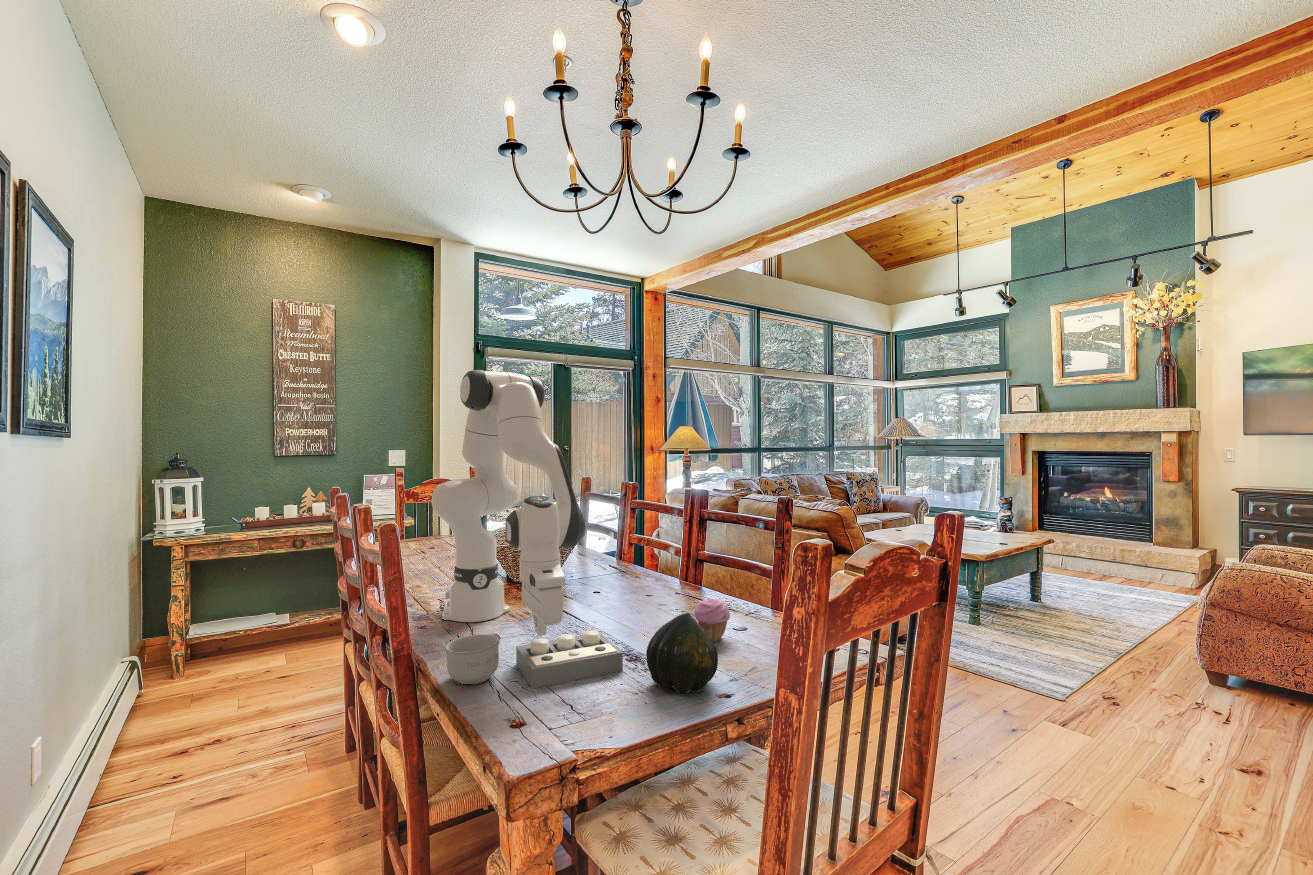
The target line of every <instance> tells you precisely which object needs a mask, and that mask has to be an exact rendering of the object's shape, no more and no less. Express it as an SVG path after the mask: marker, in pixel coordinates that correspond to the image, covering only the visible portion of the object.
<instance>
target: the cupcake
mask: <svg viewBox="0 0 1313 875" xmlns="http://www.w3.org/2000/svg"><path fill="white" fill-rule="evenodd" d="M729 609H730V608H728V605H727V604H726V603H725V602H724V601H723V600H721V599H717V598H710V599H703V600H701V601H700V603H698V604H696V606H695V609H694V613H693V615H694V619H695V620H696V621H697V623H698V624H699V625H700V626H701V628H702V629H703V630H704V631H705V632H706V633H707V635H708V636H709V637H710V638H711V640H712V641H713V643H717V642H718V641H719V640H720V639H722V637H723V635H724V634H725V632H726V630H727V624H728V622H729V620H730V617H731V613H730V610H729Z"/></svg>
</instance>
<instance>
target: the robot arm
mask: <svg viewBox="0 0 1313 875" xmlns="http://www.w3.org/2000/svg"><path fill="white" fill-rule="evenodd" d="M459 387H460V388H459V395H460V400H461V403H462V404H463V406H465V408H467V409H468V414H467V417H466V423H465V429H464V435H463V441H462V442H463V443H462V450H461V452H462V456H463V459H464V461H466V462H467V463H468V464H470V465H471V466H473V467H474V477H471V478H468V477H467V478H457V479H453V480H448V481H445V482H442V483H439V484H438V485H436V486H435V488H434V489H433V492H432V494H431V507H432V509H433V511H434V513H435V514H436V515H437V517H439V518H441V519H442V520H443V521H444V522H445V523H446V524H447V525H448V526H449V528H450V530H451V532H452V535H453V538H454V546H455V547H454V548H455V566H454V570H453V579H454V580H453V581H454V582H453V583H452V585H451V586H450V588H449V590H445V600H446V602H445V603H444V607H443V610H442V614H441V618H442V619H444V620H443V621H453V622H454V621H455V622H459V623H460V622H461V623H475V622H484V621H488V620H493V619H495V618H498V617H500V616H502V615H503V614H504V613H508V612H510V611H511V606H510V605H508V604H506V603H505V588H504V582H502V581H501V580H500V579H499V578H498V577H499V563H497V538H496V536H495V534H494V533H492V532H491V531H490V530H488V529H486V528H485V527H484V526H483V524H482V520H481V518H482V516H485V517H486V516H491V515H498V514H500V513H503V512H505V511H508V510H511V509H512V508H513V507H514V506H515V505H516V502H517V499H518V490H517V489H518V488H517V487H516V484H515V483H514V482H513V480H511V479H510V477H509V476H508V474H507V473H506V469H505V465H504V453H505V454H506V455H507V456H508V457H510V458H511V459H512V460H515V461H518V462H520V463H524V464H527V465H530V466H533V467H534V468H537V469H539V470H541V471H542V472H543V473H545V474H546V475H547V477H548V479H549V482H550V485H551V488H552V490H553V494H554V495H553V496H554V498H555V499H554V498H553V497H550V496H544V495H534V496H533V495H532V496H529V497H525V498H524V499H523V500H522V501H521V506H520V507H519V508H518V509H513V510H512V511H511V513H509V515H507V517H506V518H505V543H507V544H508V545H509V546H511V547H512V548H513V549H515V550H520V554H519V555H520V556H519V581H520V582H521V600H522V603H523V604H524V605H525V606H526V607H527V608H528V609H529V611H530V612H532V618H533V624H534V632H535V633H536V634H537V635H538V636H539V637H542V636H543V637H544V636H546V635H547V628H548V627H547V626H555V625H560V623H561V622H562V619H563V615H564V614H563V613H564V611H563V609H564V590H563V587H564V586H566V580H567V579H566V576H565V574H564V572H563V569H562V564H561V552H560V548H562V549H568V548H569V549H570V548H571V549H572V548H574V547H575V546H577V545H578V544H579V543H580V542H581V541H582V539H583V538H584V537H585V534H586V523H585V522H586V521H585V518H584V516H583V515H584V514H583V513H582V510H581V508H580V505H579V503H578V501H577V498H576V495H575V491H574V489H573V484H572V481H571V477H570V476H569V471H568V467H567V465H566V461H565V459H564V455H563V454H562V451H561V449H560V447H559V445H557V444H556V443H554V442H552V441H551V439H550V438H549V437H548V434H546V430H545V428H544V425H543V424H544V423H543V417H542V416H543V415H542V411H541V408H542V407H543V406H544V405H543V404H544V402H545V387H544V385H543V382H542V381H541V380H540V379H539V378H537V377H534V376H532V375H524V374H520V373H516V372H511V371H494V370H483V369H472V370H469V371H467V372H466V373H465V374H464V375H463V377H462V380H461V382H460V386H459ZM448 599H449V600H448ZM447 600H448V601H447ZM442 619H441V620H442Z"/></svg>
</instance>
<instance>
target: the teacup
mask: <svg viewBox="0 0 1313 875" xmlns="http://www.w3.org/2000/svg"><path fill="white" fill-rule="evenodd" d="M500 642H501V641H500V634H498V632H495V631H494V632H493V631H492V632H490V633H488V634H486V633H478V634H472V635H471V634H470V635H465V636H461V637H459V638H456V639H454V640H451V641H449V642H448V643H447V644H445V648H444V649H445V653H446V654H445V656H446V667H447V673H448V675H449V677H450V678H451V679H452V680H453V681H455V682H456V683H458V684H460V683H461V684H460V685H463V684H473V685H478V684H480V683H484V682H486V681H487V680H489V679H490V678H491V677H492V676H493V674H494V673H496V671H497V670H498V667H499V663H500V662H499V661H500V658H499V656H500V653H499V652H500V651H499V645H500Z"/></svg>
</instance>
